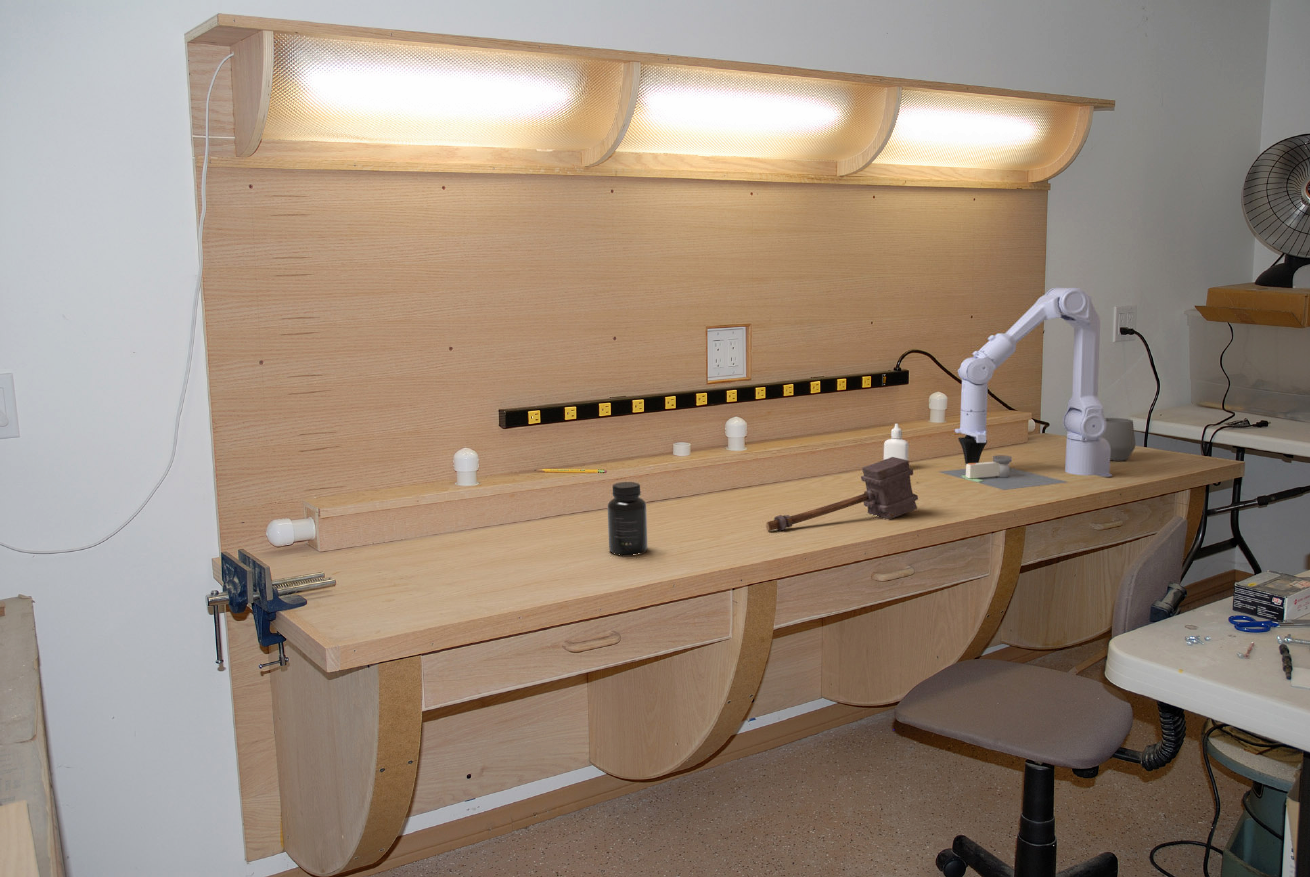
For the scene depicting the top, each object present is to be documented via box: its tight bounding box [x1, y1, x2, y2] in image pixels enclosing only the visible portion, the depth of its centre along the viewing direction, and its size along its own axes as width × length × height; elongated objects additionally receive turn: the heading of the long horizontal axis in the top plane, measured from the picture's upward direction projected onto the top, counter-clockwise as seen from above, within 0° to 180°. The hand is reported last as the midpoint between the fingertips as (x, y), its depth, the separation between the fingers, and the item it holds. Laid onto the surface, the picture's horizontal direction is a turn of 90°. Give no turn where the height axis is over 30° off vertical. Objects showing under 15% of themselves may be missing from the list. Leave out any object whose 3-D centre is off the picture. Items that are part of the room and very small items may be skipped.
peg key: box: [965, 454, 1013, 478], centre depth 225 cm, size 11×4×4 cm, turn 108°
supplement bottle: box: [607, 481, 648, 556], centre depth 173 cm, size 7×7×12 cm
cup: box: [1101, 417, 1136, 462], centre depth 249 cm, size 10×9×10 cm
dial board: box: [939, 467, 1068, 491], centre depth 226 cm, size 18×22×1 cm
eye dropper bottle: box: [883, 423, 909, 461], centre depth 236 cm, size 4×6×12 cm
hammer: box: [765, 457, 919, 532], centre depth 192 cm, size 7×33×10 cm, turn 115°
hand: (971, 468), depth 229 cm, fingers closed
